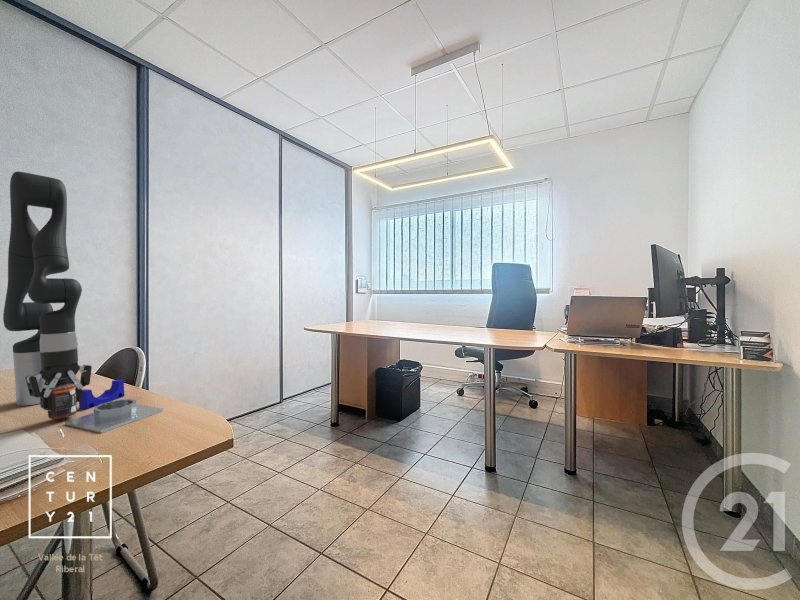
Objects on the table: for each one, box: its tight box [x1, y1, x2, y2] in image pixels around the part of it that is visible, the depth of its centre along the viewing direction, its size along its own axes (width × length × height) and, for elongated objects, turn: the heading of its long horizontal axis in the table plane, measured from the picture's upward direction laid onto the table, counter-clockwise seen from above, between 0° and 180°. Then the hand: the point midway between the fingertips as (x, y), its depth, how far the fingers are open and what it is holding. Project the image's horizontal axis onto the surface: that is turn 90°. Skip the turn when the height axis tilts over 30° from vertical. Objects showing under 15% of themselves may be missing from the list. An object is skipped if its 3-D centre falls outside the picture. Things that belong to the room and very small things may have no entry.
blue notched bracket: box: [78, 379, 125, 410], centre depth 111 cm, size 12×4×6 cm, turn 171°
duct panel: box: [64, 398, 164, 434], centre depth 98 cm, size 16×16×4 cm
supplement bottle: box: [47, 377, 78, 420], centre depth 97 cm, size 6×6×11 cm
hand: (62, 405), depth 97 cm, fingers closed on supplement bottle, 6 cm apart
